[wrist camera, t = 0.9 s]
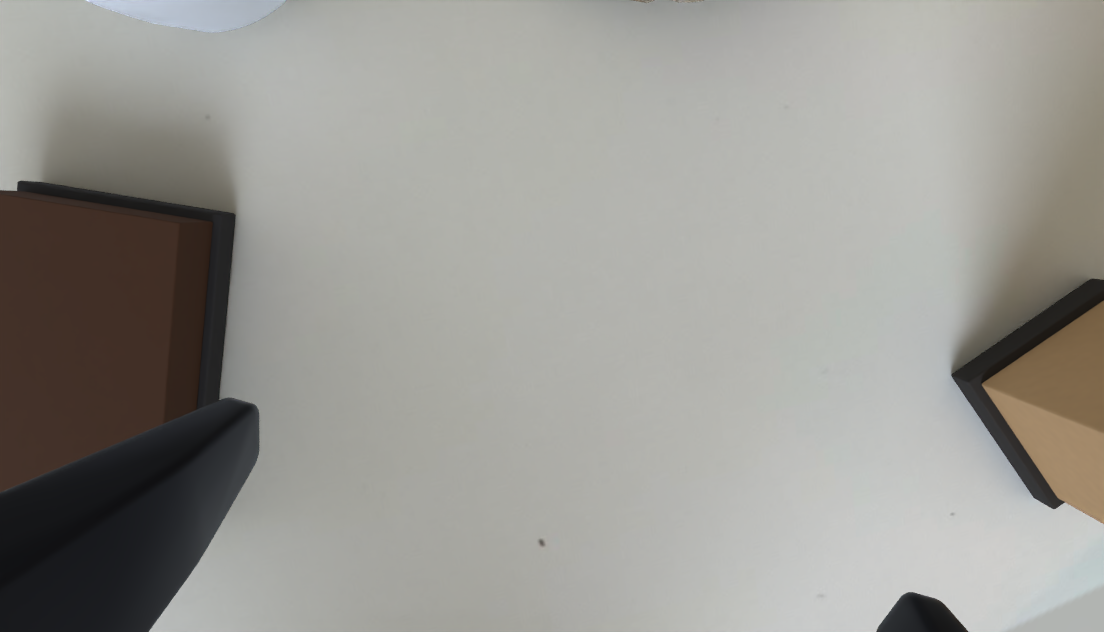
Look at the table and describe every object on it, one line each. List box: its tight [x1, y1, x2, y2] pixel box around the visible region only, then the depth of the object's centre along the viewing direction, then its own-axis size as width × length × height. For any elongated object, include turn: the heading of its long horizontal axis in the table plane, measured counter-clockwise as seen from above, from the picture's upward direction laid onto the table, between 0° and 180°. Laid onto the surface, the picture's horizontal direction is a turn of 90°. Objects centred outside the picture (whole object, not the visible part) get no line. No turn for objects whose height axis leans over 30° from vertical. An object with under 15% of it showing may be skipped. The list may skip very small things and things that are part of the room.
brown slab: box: [0, 181, 235, 492], centre depth 22 cm, size 11×6×3 cm, turn 171°
